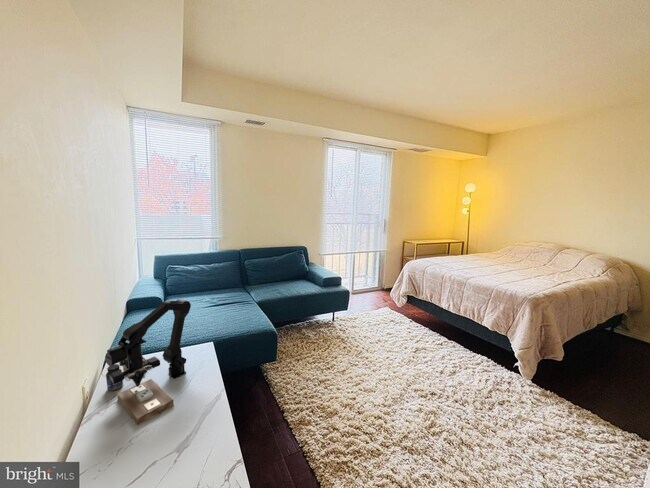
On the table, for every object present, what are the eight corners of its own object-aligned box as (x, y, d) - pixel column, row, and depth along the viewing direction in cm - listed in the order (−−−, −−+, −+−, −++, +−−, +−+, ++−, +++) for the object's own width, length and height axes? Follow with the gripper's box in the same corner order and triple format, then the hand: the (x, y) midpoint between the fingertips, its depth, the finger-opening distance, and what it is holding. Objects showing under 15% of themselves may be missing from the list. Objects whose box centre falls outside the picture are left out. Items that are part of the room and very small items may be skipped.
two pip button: (142, 390, 135) (142, 383, 134) (146, 394, 132) (146, 388, 131) (130, 395, 131) (130, 389, 131) (134, 400, 128) (133, 393, 127)
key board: (151, 384, 139) (151, 378, 139) (173, 405, 125) (173, 399, 124) (118, 399, 128) (117, 393, 128) (137, 425, 114) (137, 418, 113)
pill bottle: (114, 392, 133) (112, 371, 132) (104, 391, 134) (101, 369, 133) (126, 384, 139) (124, 364, 138) (116, 383, 140) (113, 362, 139)
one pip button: (156, 404, 125) (156, 398, 125) (161, 409, 122) (160, 403, 122) (144, 411, 121) (143, 404, 121) (148, 416, 118) (147, 409, 118)
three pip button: (149, 394, 130) (148, 388, 129) (153, 399, 127) (153, 392, 126) (136, 400, 126) (136, 393, 125) (141, 405, 123) (140, 398, 122)
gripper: (150, 341, 141) (152, 370, 143) (104, 357, 126) (107, 389, 128) (159, 348, 134) (161, 379, 136) (112, 366, 119) (115, 399, 122)
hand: (137, 386), depth 131 cm, fingers closed
